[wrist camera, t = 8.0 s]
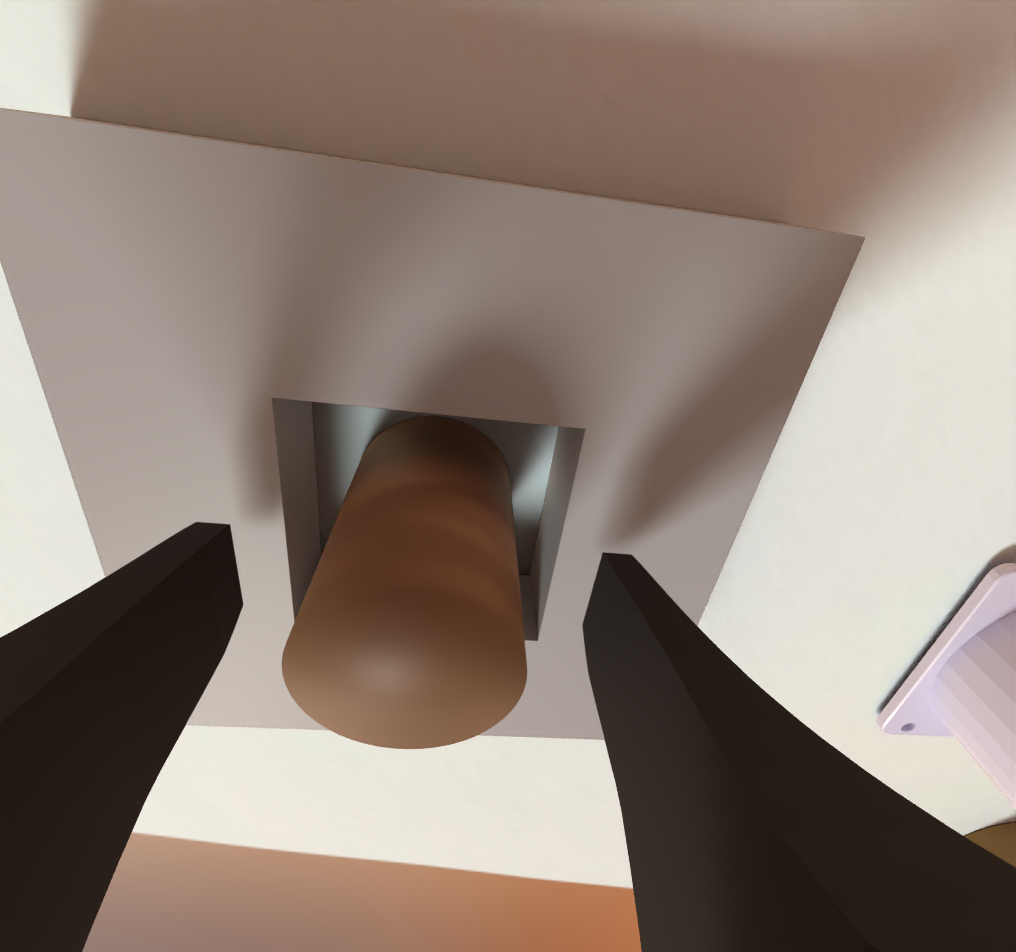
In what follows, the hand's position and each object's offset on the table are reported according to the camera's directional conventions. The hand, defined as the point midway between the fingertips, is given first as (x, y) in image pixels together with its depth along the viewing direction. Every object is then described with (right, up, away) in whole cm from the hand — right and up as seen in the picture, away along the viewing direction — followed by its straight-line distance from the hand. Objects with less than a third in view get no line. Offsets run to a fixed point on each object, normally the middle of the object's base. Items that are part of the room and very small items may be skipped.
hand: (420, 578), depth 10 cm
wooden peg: (0, +2, +3) cm, 4 cm away
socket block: (0, +2, +3) cm, 4 cm away
